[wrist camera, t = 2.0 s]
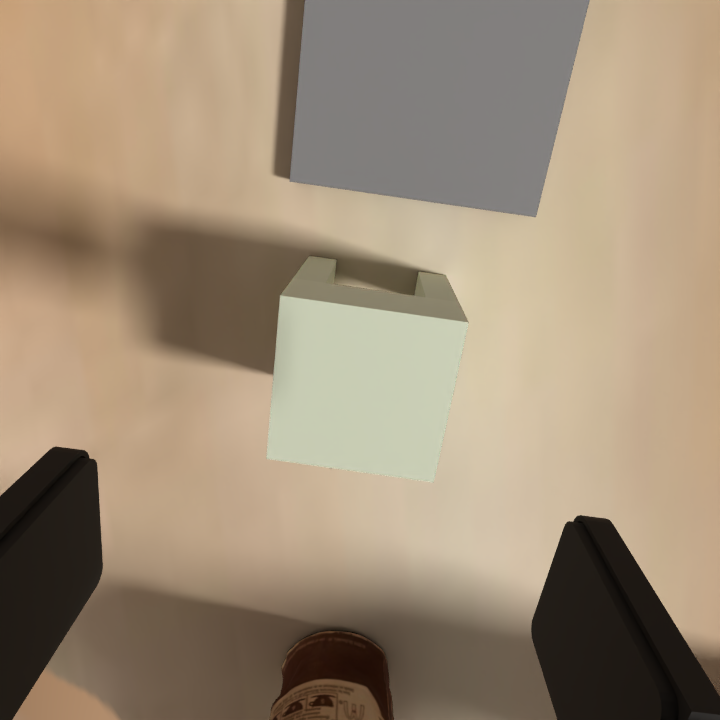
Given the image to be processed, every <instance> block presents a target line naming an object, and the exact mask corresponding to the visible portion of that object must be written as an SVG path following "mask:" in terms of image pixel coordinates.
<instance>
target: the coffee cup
mask: <svg viewBox="0 0 720 720" xmlns="http://www.w3.org/2000/svg"><path fill="white" fill-rule="evenodd" d="M281 669H282V675H283V685H282V690H281V694H280V696H279V697H278V698H277V699H276V700H275V702H274V703H273V705H272V708H271V714H270V719H269V720H394V717H393V704H392V696H391V692H390V689H389V672H388V664H387V659H386V657H385V654H384V652H383V650H382V649H381V648H380V647H378V646H377V645H376V644H374V643H373V642H371V641H370V640H368V639H367V638H365V637H363V636H361V635H358V634H354V633H350V632H342V631H324V632H320V633H316V634H314V635H310V636H308V637H306V638H304V639H303V640H301V641H299V642H298V643H297V644H296V645H295V646H294V647H293V648H292V649H290V650H289V651H288V653H287V654H286V659H285V661H284V664H283V665H282V668H281Z"/></svg>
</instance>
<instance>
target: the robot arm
mask: <svg viewBox="0 0 720 720" xmlns="http://www.w3.org/2000/svg"><path fill="white" fill-rule="evenodd" d="M102 568H103V562H102V544H101V526H100V508H99V490H98V472H97V463H96V461H95V460H94V459H89V455H88V453H87V452H86V451H85V450H78V449H70V448H62V447H53V448H52V449H50V450H49V451H48V452H47V453H46V454H45V455H44V456H43V457H42V458H41V459H39V460H38V461H37V462H36V463H35V464H34V465H33V466H32V467H31V468H30V469H29V470H28V471H27V472H26V473H24V474H23V475H22V476H21V477H20V478H19V479H18V480H17V481H16V482H15V483H14V484H13V485H12V486H11V487H10V488H8V489H7V490H6V491H5V492H4V493H3V494H2V495H1V496H0V720H12V719H13V717H14V716H15V714H16V713H17V711H18V709H19V708H20V706H21V705H22V703H23V701H24V700H25V699H26V697H27V695H28V694H29V692H30V690H31V689H32V687H33V686H34V684H35V683H36V681H37V680H38V678H39V676H40V675H41V673H42V672H43V670H44V669H45V667H46V665H47V664H48V662H49V661H50V659H51V657H52V656H53V654H54V653H55V651H56V650H57V648H58V646H59V645H60V643H61V642H62V640H63V639H64V637H65V635H66V634H67V632H68V631H69V629H70V627H71V626H72V624H73V623H74V621H75V620H76V618H77V616H78V615H79V613H80V612H81V610H82V609H83V607H84V605H85V604H86V602H87V601H88V599H89V597H90V596H91V594H92V593H93V591H94V590H95V588H96V586H97V584H98V583H99V580H100V577H101V574H102ZM531 632H532V639H533V643H534V646H535V649H536V653H537V656H538V659H539V662H540V665H541V668H542V672H543V675H544V678H545V681H546V684H547V688H548V691H549V694H550V697H551V700H552V704H553V707H554V710H555V713H556V716H557V720H720V696H719V695H718V693H717V691H716V690H715V688H714V686H713V685H712V683H711V682H710V680H709V678H708V677H707V675H706V674H705V672H704V670H703V669H702V667H701V665H700V664H699V662H698V661H697V659H696V657H695V656H694V654H693V653H692V651H691V649H690V648H689V646H688V645H687V643H686V641H685V640H684V638H683V636H682V635H681V633H680V632H679V630H678V628H677V627H676V625H675V624H674V622H673V620H672V619H671V617H670V615H669V614H668V612H667V611H666V609H665V607H664V606H663V604H662V603H661V601H660V599H659V598H658V596H657V594H656V593H655V591H654V590H653V588H652V586H651V585H650V583H649V582H648V580H647V578H646V577H645V575H644V574H643V572H642V570H641V569H640V567H639V565H638V564H637V562H636V561H635V559H634V557H633V556H632V554H631V553H630V551H629V549H628V548H627V546H626V544H625V543H624V541H623V540H622V538H621V536H620V535H619V533H618V532H617V530H616V528H615V527H614V525H613V524H612V522H611V521H610V520H608V519H604V518H597V517H589V516H581V515H580V516H577V517H576V518H575V519H574V521H573V522H570V521H569V522H567V523H566V524H565V526H564V529H563V532H562V535H561V538H560V541H559V544H558V547H557V549H556V552H555V555H554V558H553V561H552V564H551V567H550V570H549V573H548V576H547V579H546V582H545V585H544V588H543V590H542V593H541V596H540V599H539V602H538V605H537V608H536V611H535V614H534V617H533V620H532V627H531Z"/></svg>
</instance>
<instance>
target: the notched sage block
mask: <svg viewBox="0 0 720 720" xmlns="http://www.w3.org/2000/svg"><path fill="white" fill-rule="evenodd" d="M336 262H337V260H336V259H329V258H322V257H315V256H309V257H308V258H307V260H306V261H305V262H304V264H303V265H302V266H301V268H300V269H299V271H298V272H297V273H296V275H295V276H294V277H293V279H292V280H291V281H290V283H289V284H288V285H287V287H286V288H285V289H284V291H283V292H282V294H281V295H280V303H279V315H278V327H277V338H276V350H275V362H274V374H273V386H272V398H271V410H270V422H269V434H268V446H267V457H266V459H271V460H278V461H285V462H292V463H299V464H306V465H313V466H320V467H327V468H334V469H341V470H348V471H355V472H363V473H370V474H377V475H384V476H391V477H398V478H405V479H412V480H419V481H426V482H433V483H434V479H435V475H436V470H437V465H438V461H439V456H440V452H441V447H442V442H443V438H444V433H445V429H446V424H447V420H448V415H449V410H450V406H451V401H452V397H453V392H454V388H455V383H456V378H457V374H458V369H459V365H460V360H461V355H462V351H463V346H464V342H465V337H466V333H467V328H468V323H469V322H468V320H467V318H466V316H465V314H464V312H463V310H462V308H461V306H460V304H459V302H458V299H457V297H456V295H455V293H454V291H453V289H452V287H451V285H450V283H449V281H448V279H447V277H446V275H440V274H433V273H426V272H418V278H417V283H416V289H415V294H414V296H413V295H406V294H400V293H393V292H386V291H379V290H372V289H365V288H358V287H351V286H344V285H337V284H334V279H335V270H336Z"/></svg>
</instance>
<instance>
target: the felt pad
mask: <svg viewBox="0 0 720 720" xmlns="http://www.w3.org/2000/svg"><path fill="white" fill-rule="evenodd" d="M588 4H589V0H305V5H304V17H303V29H302V41H301V53H300V65H299V76H298V88H297V100H296V112H295V124H294V136H293V148H292V160H291V172H290V182H297V183H304V184H310V185H317V186H324V187H331V188H338V189H345V190H352V191H359V192H366V193H372V194H379V195H386V196H393V197H400V198H407V199H414V200H421V201H428V202H434V203H441V204H448V205H455V206H462V207H469V208H476V209H483V210H490V211H496V212H503V213H510V214H517V215H524V216H531V217H536V215H537V211H538V207H539V203H540V198H541V194H542V190H543V186H544V182H545V178H546V174H547V170H548V166H549V162H550V158H551V154H552V150H553V146H554V142H555V138H556V134H557V130H558V126H559V122H560V118H561V114H562V110H563V105H564V101H565V97H566V93H567V89H568V85H569V81H570V77H571V73H572V69H573V65H574V61H575V57H576V53H577V49H578V45H579V41H580V37H581V33H582V29H583V25H584V21H585V17H586V12H587V8H588Z"/></svg>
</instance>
